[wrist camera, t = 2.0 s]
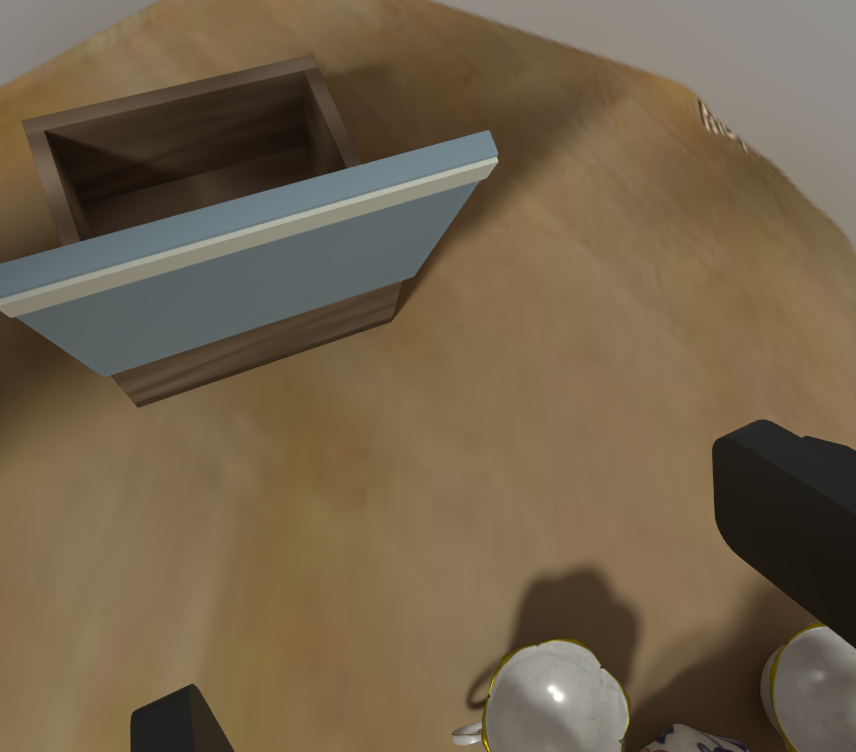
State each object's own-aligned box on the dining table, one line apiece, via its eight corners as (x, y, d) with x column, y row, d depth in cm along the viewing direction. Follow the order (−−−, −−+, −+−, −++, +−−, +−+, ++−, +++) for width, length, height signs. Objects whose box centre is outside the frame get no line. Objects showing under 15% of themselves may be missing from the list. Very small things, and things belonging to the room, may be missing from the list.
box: (391, 321, 51) (407, 263, 42) (137, 407, 46) (99, 361, 38) (312, 141, 55) (312, 54, 46) (70, 203, 50) (21, 120, 42)
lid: (407, 261, 42) (415, 279, 42) (97, 359, 37) (104, 381, 37) (489, 129, 27) (500, 158, 27) (-21, 269, 22) (-9, 304, 22)
